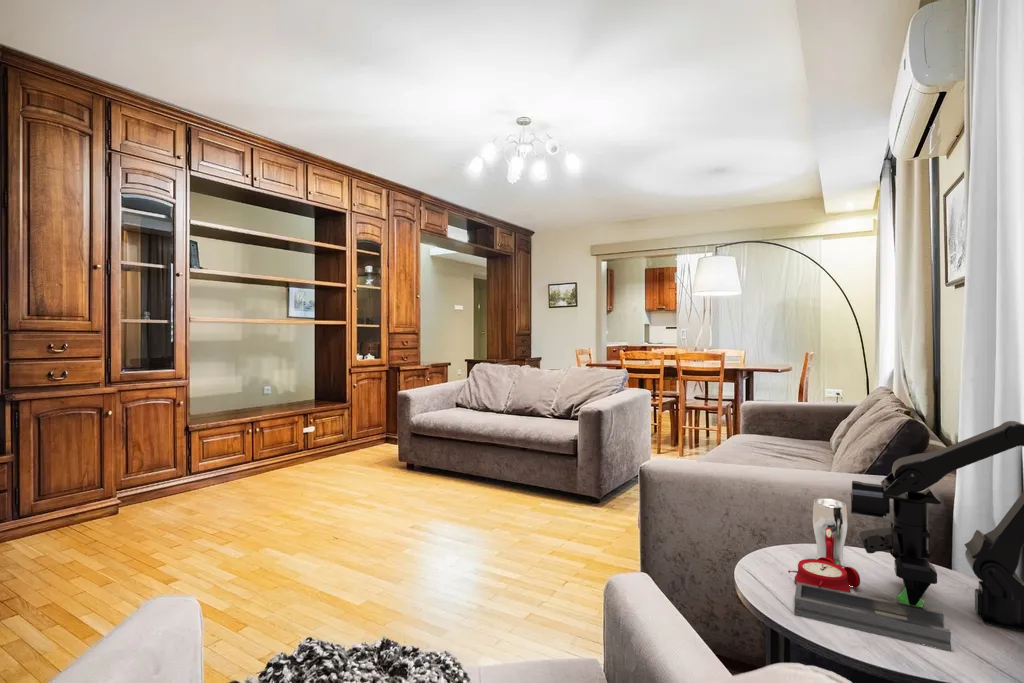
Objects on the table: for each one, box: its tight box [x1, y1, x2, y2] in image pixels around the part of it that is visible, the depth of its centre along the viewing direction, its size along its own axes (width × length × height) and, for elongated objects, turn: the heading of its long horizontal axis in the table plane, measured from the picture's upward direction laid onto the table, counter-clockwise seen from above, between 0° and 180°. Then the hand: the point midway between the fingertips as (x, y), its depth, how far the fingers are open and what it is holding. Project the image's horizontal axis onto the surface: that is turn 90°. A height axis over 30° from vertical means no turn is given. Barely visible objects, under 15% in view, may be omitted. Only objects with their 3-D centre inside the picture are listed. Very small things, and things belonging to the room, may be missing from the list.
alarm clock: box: [787, 557, 861, 593], centre depth 115 cm, size 10×6×15 cm
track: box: [794, 582, 952, 652], centre depth 101 cm, size 24×9×3 cm, turn 59°
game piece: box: [896, 587, 924, 607], centre depth 108 cm, size 4×4×6 cm
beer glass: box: [812, 497, 848, 568], centre depth 124 cm, size 7×7×15 cm
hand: (910, 597), depth 108 cm, fingers open, 6 cm apart
